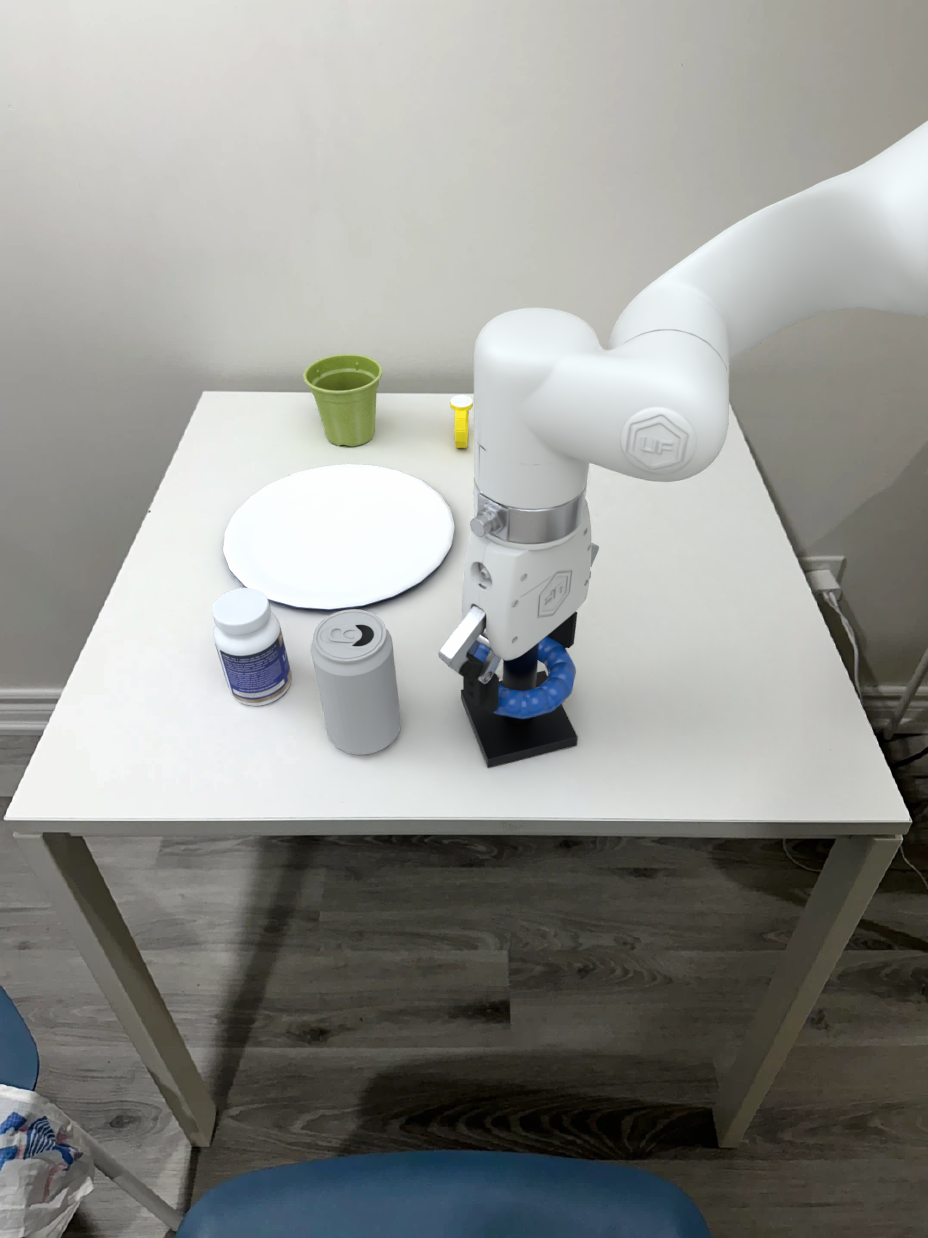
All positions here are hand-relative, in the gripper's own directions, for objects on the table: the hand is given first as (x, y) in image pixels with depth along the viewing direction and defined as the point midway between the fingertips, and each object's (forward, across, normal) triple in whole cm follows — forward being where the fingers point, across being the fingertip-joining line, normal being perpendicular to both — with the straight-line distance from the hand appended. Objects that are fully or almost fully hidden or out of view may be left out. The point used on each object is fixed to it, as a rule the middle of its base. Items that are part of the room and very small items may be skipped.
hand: (520, 669), depth 70 cm
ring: (0, 0, 0) cm, 0 cm away
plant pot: (+7, +21, +46) cm, 51 cm away
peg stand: (+7, 0, 0) cm, 7 cm away
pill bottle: (+7, -13, +20) cm, 25 cm away
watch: (+7, +29, +34) cm, 45 cm away
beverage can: (+7, -10, +9) cm, 15 cm away
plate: (+7, +6, +31) cm, 32 cm away
